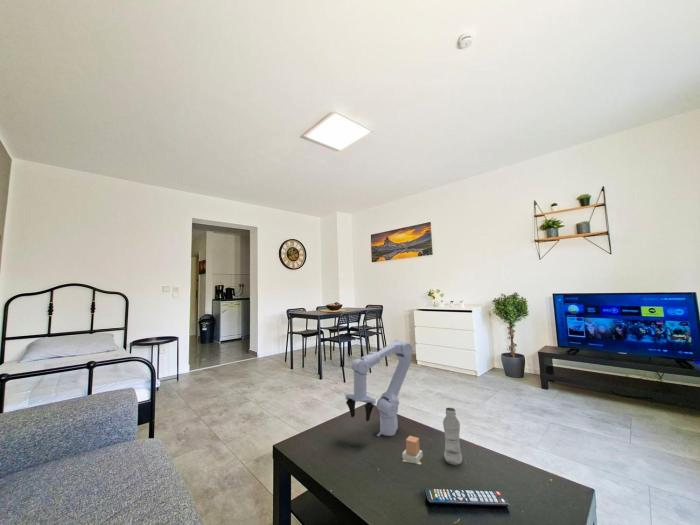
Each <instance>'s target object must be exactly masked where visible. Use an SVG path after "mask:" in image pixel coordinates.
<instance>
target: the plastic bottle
mask: <svg viewBox="0 0 700 525" xmlns="http://www.w3.org/2000/svg"><path fill="white" fill-rule="evenodd" d="M456 415H457V412H456V409H455V408H454V407H446V408H445V417H444V418H443V420H442V426H443V430H444V441H445V446H444V454H443V455H444V456H443V457H444V459H445V461H446V463H447V464H450V465H453V466H459V465H461V464H462V462H463V456H462V451H461V444H460V430H461V423H460V421H459V419H458V417H457V416H456Z"/></svg>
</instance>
